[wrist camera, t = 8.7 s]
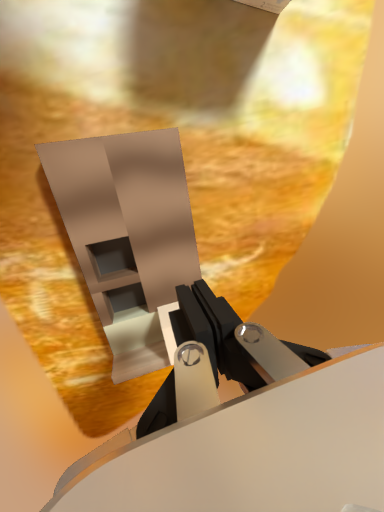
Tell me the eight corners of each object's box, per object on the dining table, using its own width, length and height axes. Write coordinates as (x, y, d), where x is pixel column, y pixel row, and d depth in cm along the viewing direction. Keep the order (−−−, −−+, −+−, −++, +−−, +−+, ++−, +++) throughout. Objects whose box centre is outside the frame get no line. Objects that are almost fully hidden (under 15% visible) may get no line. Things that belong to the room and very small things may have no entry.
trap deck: (46, 149, 19) (14, 135, 13) (172, 133, 21) (185, 116, 16) (117, 347, 26) (114, 384, 21) (203, 320, 29) (219, 348, 24)
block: (157, 307, 23) (161, 329, 20) (195, 296, 24) (207, 315, 21) (165, 339, 25) (171, 365, 21) (201, 327, 26) (212, 351, 22)
